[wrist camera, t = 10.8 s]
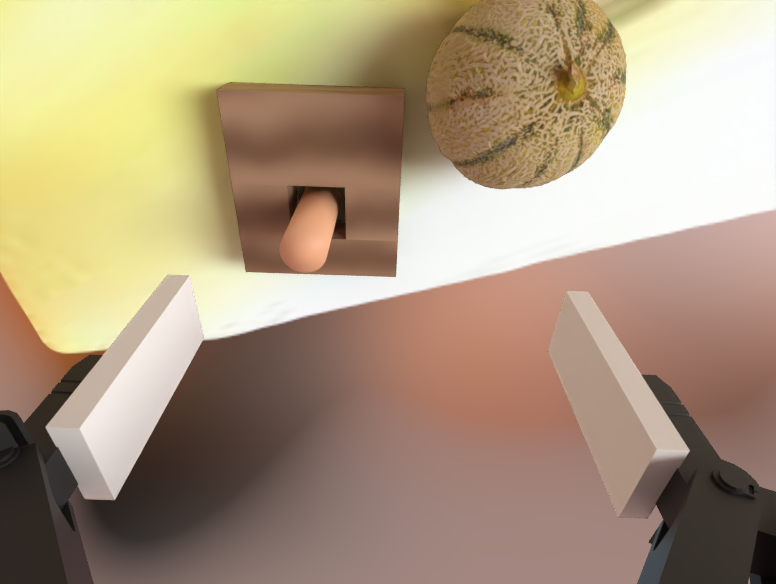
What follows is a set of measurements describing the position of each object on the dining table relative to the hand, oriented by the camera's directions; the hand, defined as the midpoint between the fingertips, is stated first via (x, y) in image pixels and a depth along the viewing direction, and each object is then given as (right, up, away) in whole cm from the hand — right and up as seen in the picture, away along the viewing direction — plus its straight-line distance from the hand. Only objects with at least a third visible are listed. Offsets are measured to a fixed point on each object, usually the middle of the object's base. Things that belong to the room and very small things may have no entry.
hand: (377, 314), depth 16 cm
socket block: (-6, +12, +31) cm, 34 cm away
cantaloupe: (+11, +20, +26) cm, 35 cm away
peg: (-7, +11, +32) cm, 34 cm away
